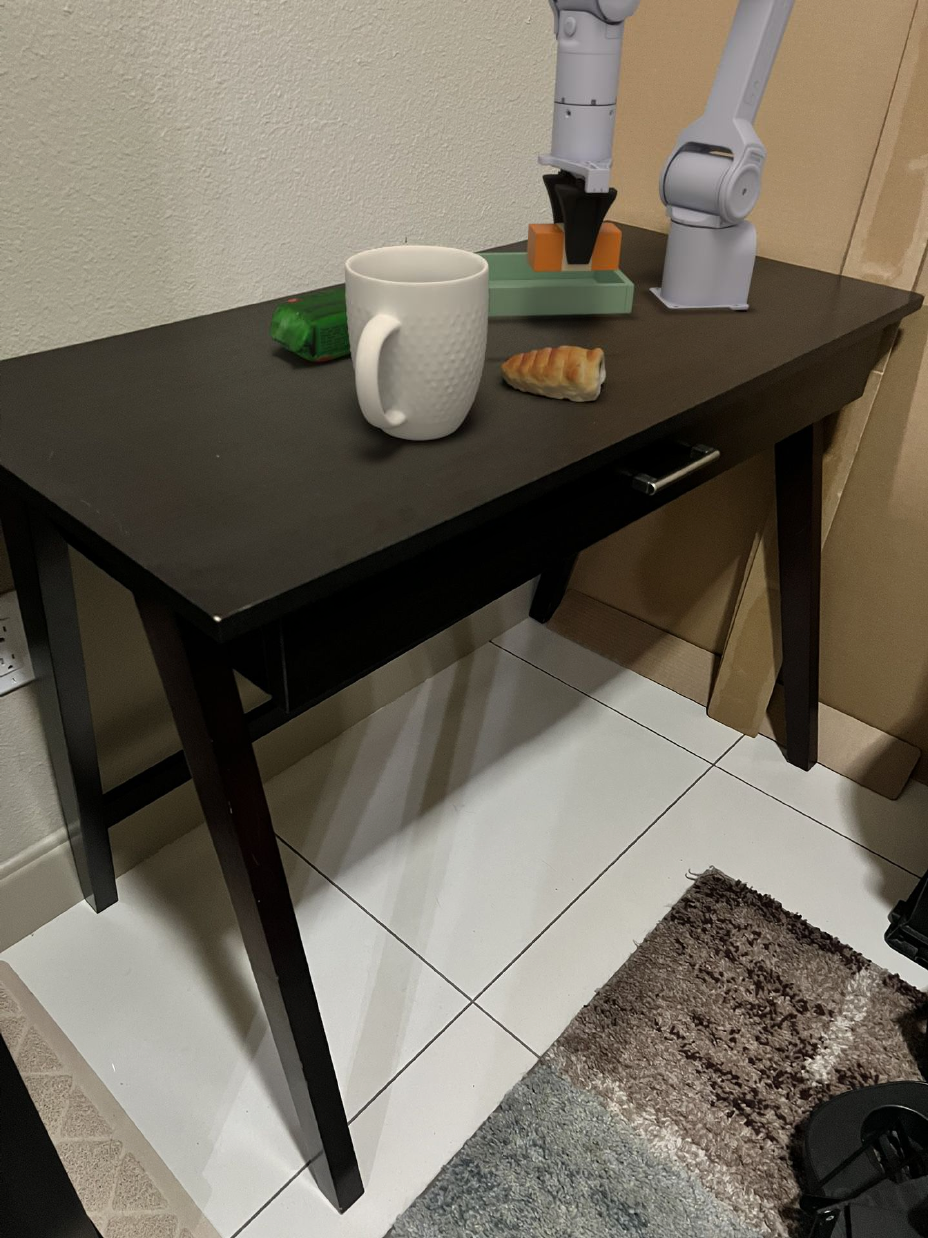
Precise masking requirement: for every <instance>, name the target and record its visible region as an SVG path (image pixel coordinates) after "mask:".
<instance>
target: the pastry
mask: <svg viewBox="0 0 928 1238" xmlns="http://www.w3.org/2000/svg"><path fill="white" fill-rule="evenodd" d="M605 361H606V360H605V352H604V350H603V349H602V348H600V347H596V348H594V349H587V348H583V347H579V346H576V345H575V346H571V345H564V344H563V345H560V346H558V347H555V348H554V347H544V348H542V349H533V350H531V351H529V352H521V353H519V354H515V355H513V356H511V357H510V358H509V359H507V360H506V361H505V362H503V363H502V364H501V367H500V370H501V375H502V378H503V379H504V380H505V382H506V383H507V384H508V385H510V386H511V387H512V388H514V390H516V389H518V390H520V392H524V393H525V392H529V393H531V394H534V395H535V396H536V395H539V396H545V397H547V398H552V399H558V400H563V399H569V400H570V402H571V401H572V402H580V403H581V402H590V401H596V400H597V398H598V397H599V395H600V394H601V388H602V387H601V385H602V384H603V383H604V382H605V381H606V377H607V373H606V372H607V371H606V367H605V366H606V363H605Z"/></svg>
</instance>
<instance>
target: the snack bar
mask: <svg viewBox="0 0 928 1238" xmlns="http://www.w3.org/2000/svg"><path fill="white" fill-rule="evenodd" d="M527 227H528V228H527V229H528V230H527V247H526V252H527V262H528V264H529V265H530V267H531V268H532V269H533V271H534V272H543V271H598V270H618V269H619V264H620V255H621V246H622V245H621V244H622V238H623V237H622V236H623V231H622V230H620V229H619V228H618V227H617V226H616V225H615V224H614V223H613V222H603V223H602V225H601V228H600V231H599V234H598V237H597V240H596V244H595V247H594V250H593V254H592V257H591V259H590V262H589V264H574V265H570V264H568V263H567V258H566V252H565V234H564V223H554V222H553V223H551V222H550V223H549V222H548V223H546V222H545V223H528V226H527Z"/></svg>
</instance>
